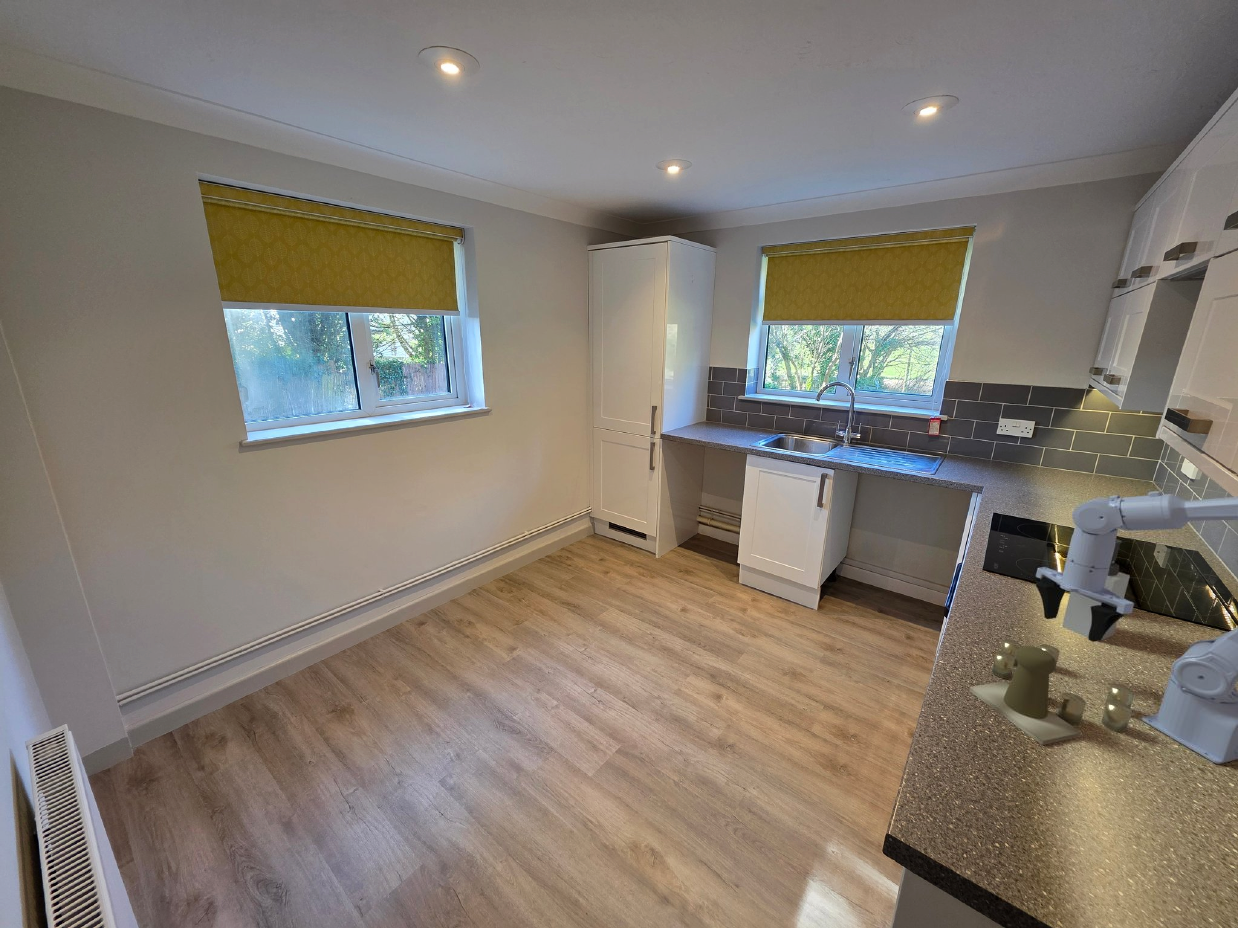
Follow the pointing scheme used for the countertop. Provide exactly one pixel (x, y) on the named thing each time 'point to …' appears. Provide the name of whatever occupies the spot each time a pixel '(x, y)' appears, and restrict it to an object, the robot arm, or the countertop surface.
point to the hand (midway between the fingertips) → (1071, 628)
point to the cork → (1030, 682)
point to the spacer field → (1071, 704)
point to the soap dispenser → (1080, 605)
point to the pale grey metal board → (1036, 728)
